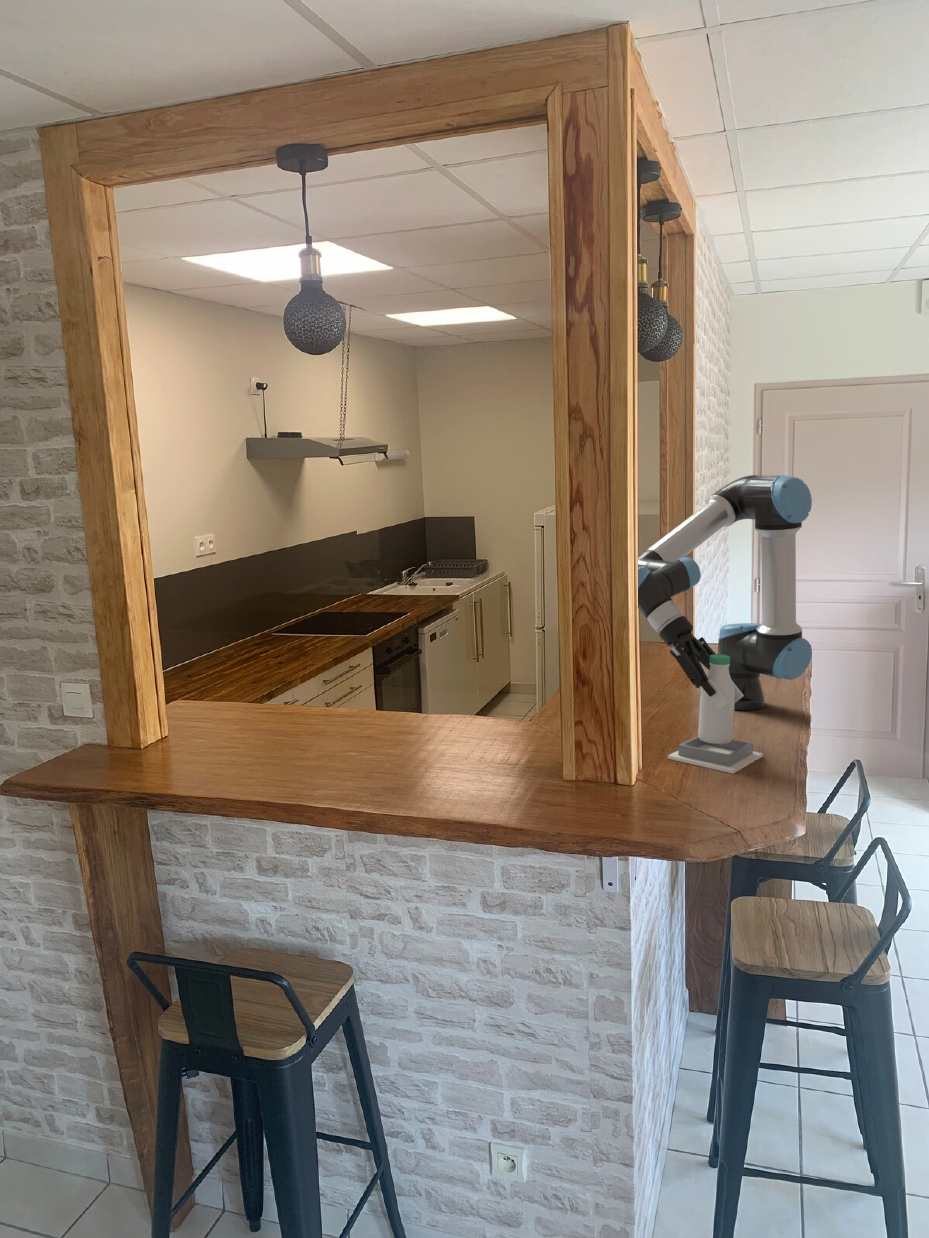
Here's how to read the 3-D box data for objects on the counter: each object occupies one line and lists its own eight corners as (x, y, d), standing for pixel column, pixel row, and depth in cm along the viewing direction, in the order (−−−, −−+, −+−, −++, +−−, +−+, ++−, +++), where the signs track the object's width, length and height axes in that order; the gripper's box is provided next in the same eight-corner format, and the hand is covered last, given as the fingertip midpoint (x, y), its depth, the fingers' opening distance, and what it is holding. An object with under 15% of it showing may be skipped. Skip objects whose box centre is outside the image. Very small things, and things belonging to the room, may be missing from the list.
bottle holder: (699, 743, 228) (699, 730, 227) (762, 756, 217) (763, 743, 217) (667, 758, 215) (668, 744, 215) (733, 773, 205) (734, 759, 205)
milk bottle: (733, 746, 211) (739, 660, 208) (698, 743, 213) (703, 658, 209) (730, 736, 219) (736, 653, 215) (697, 734, 220) (701, 651, 217)
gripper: (680, 628, 229) (738, 703, 222) (638, 639, 214) (700, 720, 206) (701, 609, 225) (761, 685, 217) (660, 619, 210) (724, 701, 202)
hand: (731, 702), depth 212 cm, fingers closed on milk bottle, 7 cm apart
